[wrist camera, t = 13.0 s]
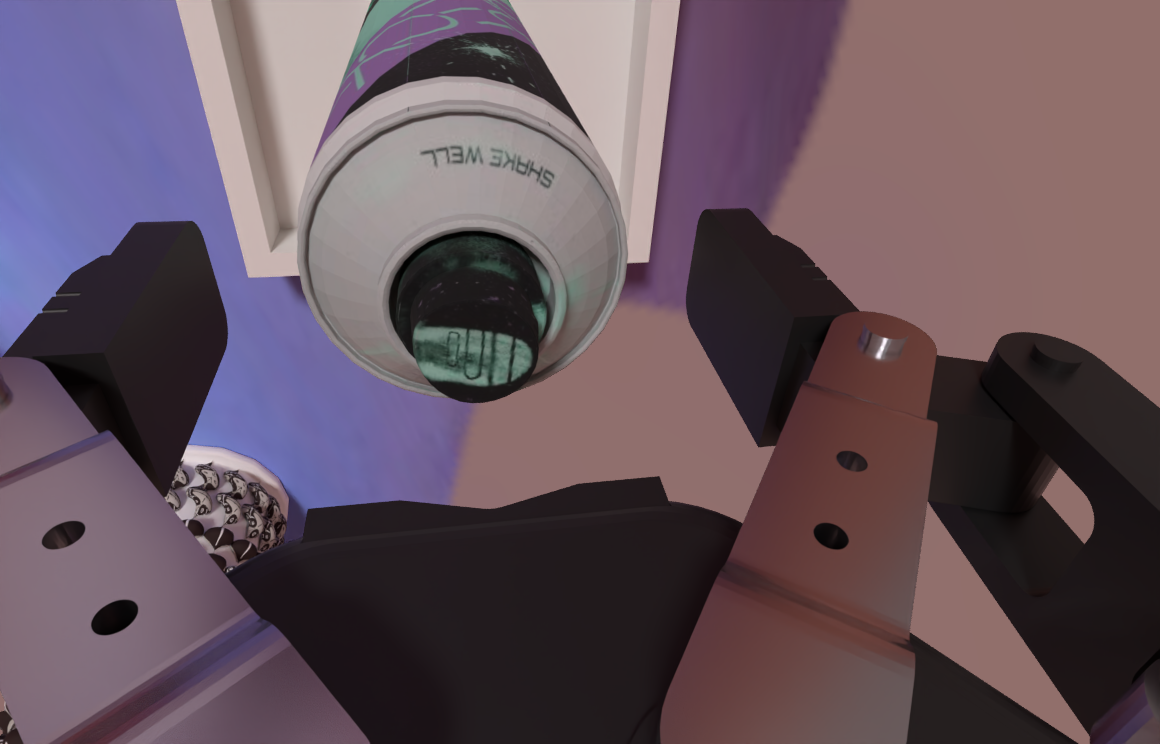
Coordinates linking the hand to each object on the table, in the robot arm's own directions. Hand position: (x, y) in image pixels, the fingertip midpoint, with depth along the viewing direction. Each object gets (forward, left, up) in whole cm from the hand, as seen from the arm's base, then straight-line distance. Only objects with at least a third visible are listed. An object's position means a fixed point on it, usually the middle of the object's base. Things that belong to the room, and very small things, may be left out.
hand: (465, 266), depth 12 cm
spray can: (0, 0, -17) cm, 17 cm away
